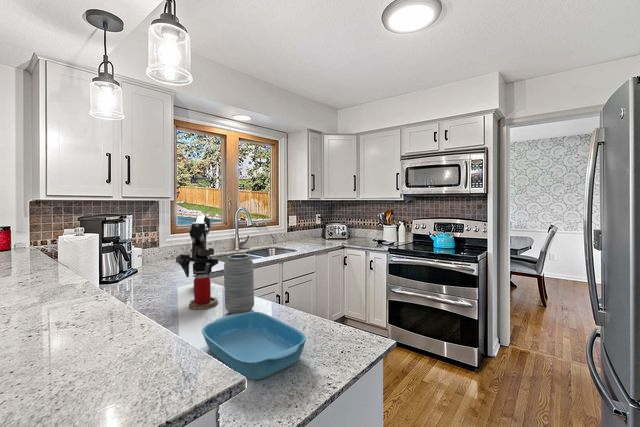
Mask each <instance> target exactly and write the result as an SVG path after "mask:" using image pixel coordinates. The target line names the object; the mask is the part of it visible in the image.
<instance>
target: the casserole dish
mask: <svg viewBox="0 0 640 427" xmlns="http://www.w3.org/2000/svg"><path fill="white" fill-rule="evenodd" d="M201 333H202V334H201V335H202V336H203V338H204V340H205V343H206V345H207V347H208V350H210V352H211V353H212V354H213V355H214V356H216V357H217V358H218V359H219V360H221V361H222V362H223V363H224V364H225V365H226V366H227V367H229V368H230V369H231V370H232V371H234V370H235V371H236V372H235V371H234V372H235V373H237V372H238V373H240V374H241V375H243V376H245V377H246V379H248V380H252V381H258V380H261V379H265V378H268V377H270V376H272V375H274V374H276V373H278V372H280V371H282V370H284V369H286V368H289V367H290V366H291V365H294V364H295V363H296V362H297V361H298V360H299V359H300V357H301V356H302V353H303V352H304V351H303V350H304V348H305V345H306V340H307V336H306V335H305V333H303V332H302V331H300V330H299V329H297V328H295V327H293V326H291V325H290V324H287V323H285V322H283V321H281V320H279V319H277V318H276V317H273V316H272V315H269V314H267V313H264V312H260V311H250V312H246V313H240V314H232V315H231V314H228V315H224V316H222V317H219V318H217V319H215V320H213V321H211V322H210V323H207V324H205V325H204V326H203V327H202V329H201ZM238 373H237V374H238ZM241 375H240V376H241ZM243 376H242V377H243ZM245 377H244V378H245Z"/></svg>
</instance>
